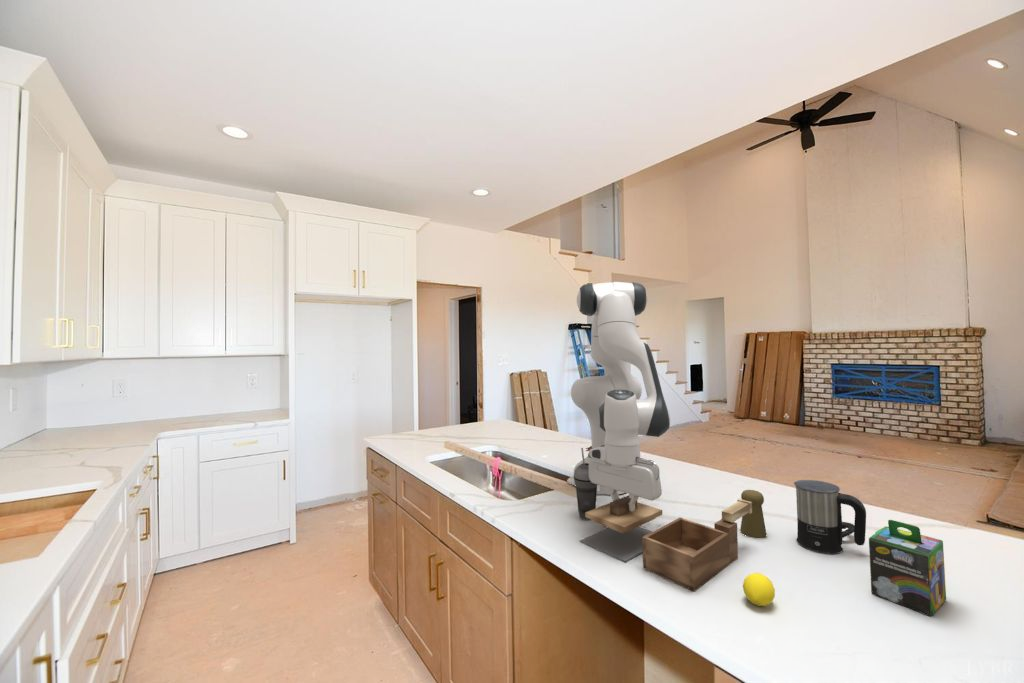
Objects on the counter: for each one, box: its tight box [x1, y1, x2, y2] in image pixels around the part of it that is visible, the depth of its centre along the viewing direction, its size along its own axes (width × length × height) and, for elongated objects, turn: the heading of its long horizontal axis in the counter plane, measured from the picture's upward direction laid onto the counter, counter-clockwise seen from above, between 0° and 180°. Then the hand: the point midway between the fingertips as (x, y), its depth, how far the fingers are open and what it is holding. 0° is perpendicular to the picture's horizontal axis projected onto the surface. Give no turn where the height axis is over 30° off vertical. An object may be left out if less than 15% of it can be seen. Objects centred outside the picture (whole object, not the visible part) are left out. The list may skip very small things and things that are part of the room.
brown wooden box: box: [642, 517, 739, 592], centre depth 98 cm, size 12×20×8 cm, turn 129°
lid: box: [585, 494, 663, 533], centre depth 110 cm, size 12×16×5 cm
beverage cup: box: [573, 447, 598, 521], centre depth 125 cm, size 7×7×20 cm
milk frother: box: [793, 479, 867, 555], centre depth 107 cm, size 14×16×15 cm
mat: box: [579, 526, 654, 564], centre depth 110 cm, size 14×18×1 cm
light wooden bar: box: [721, 498, 752, 523], centre depth 103 cm, size 3×10×3 cm, turn 129°
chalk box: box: [868, 519, 947, 617], centre depth 84 cm, size 9×9×15 cm
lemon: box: [742, 572, 776, 607], centre depth 83 cm, size 7×5×5 cm
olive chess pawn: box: [739, 489, 768, 539], centre depth 112 cm, size 6×6×11 cm
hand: (624, 508), depth 110 cm, fingers closed on lid, 3 cm apart
